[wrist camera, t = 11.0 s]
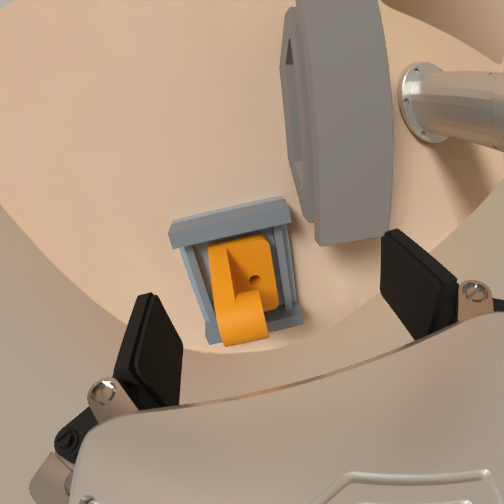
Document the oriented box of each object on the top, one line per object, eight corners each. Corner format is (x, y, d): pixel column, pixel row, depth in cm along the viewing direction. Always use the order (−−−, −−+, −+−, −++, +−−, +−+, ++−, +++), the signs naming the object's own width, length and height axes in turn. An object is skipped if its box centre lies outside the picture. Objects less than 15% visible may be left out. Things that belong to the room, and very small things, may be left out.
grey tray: (280, 196, 35) (289, 206, 31) (295, 306, 44) (303, 323, 40) (172, 220, 35) (167, 233, 31) (208, 326, 43) (209, 344, 39)
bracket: (275, 296, 41) (296, 357, 30) (226, 307, 40) (233, 371, 30) (264, 229, 36) (287, 280, 25) (208, 241, 35) (207, 298, 25)
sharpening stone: (273, 20, 25) (298, -15, 15) (333, 23, 25) (377, -2, 16) (291, 209, 36) (319, 246, 27) (346, 203, 37) (387, 235, 27)
